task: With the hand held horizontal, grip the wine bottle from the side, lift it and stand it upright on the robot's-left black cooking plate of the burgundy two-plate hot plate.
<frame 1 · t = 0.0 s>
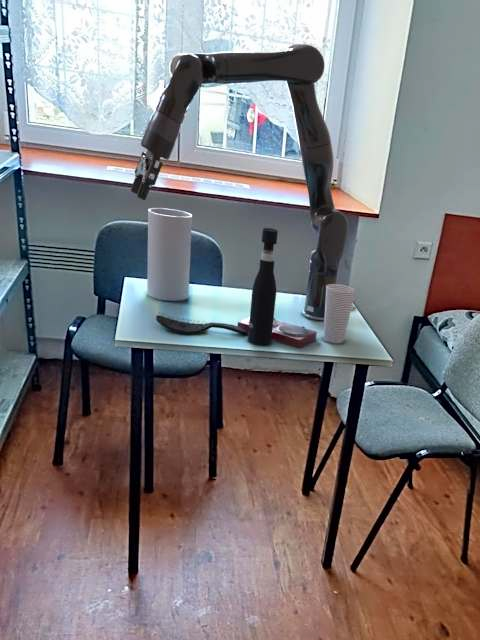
hand: (137, 195, 172), 31 cm above the table, tool tilted 20°, fingers open, 8 cm apart
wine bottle: (259, 342, 182), on the table
hairbrush: (202, 331, 182), on the table
cup: (333, 340, 194), on the table
hot plate: (276, 334, 191), on the table
cylinder vase: (168, 296, 206), on the table
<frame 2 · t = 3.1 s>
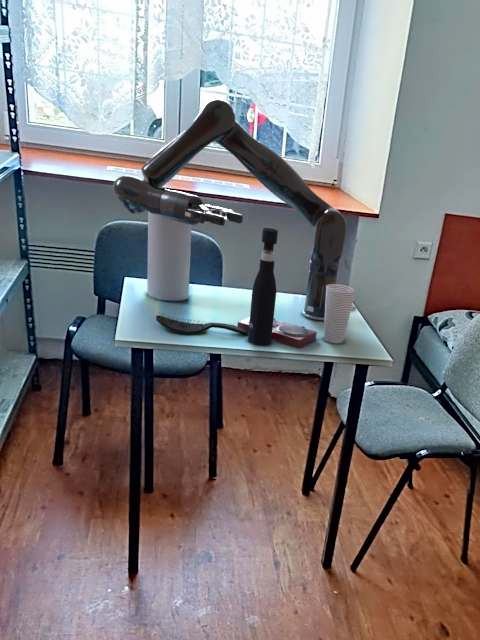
hand: (233, 220, 171), 30 cm above the table, tool horizontal, fingers open, 8 cm apart
nothing on the table moved.
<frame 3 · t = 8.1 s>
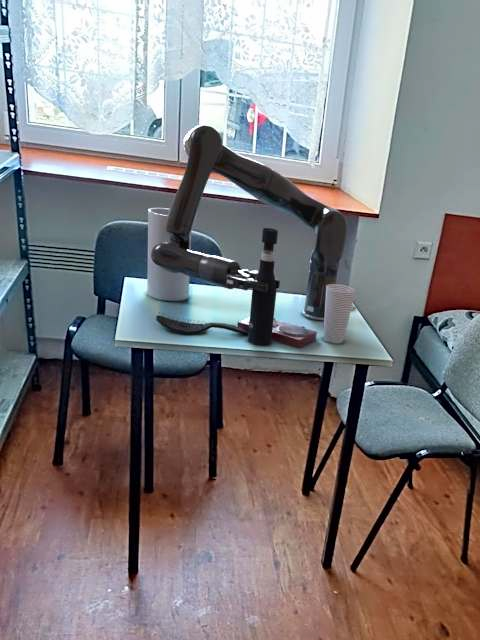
hand: (272, 286, 174), 16 cm above the table, tool horizontal, fingers closed on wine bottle, 6 cm apart
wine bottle: (259, 342, 182), on the table, touching gripper
everything else where it was.
when the fingers open (19 cm above the table, at t = 13.1 s): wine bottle stays where it is, resting on hot plate.
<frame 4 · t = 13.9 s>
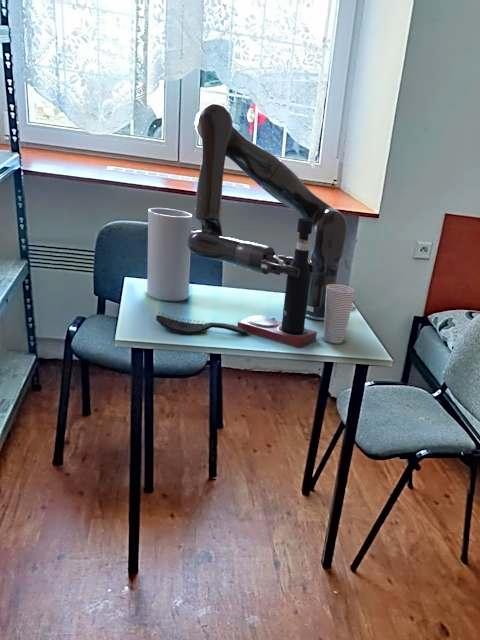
hand: (306, 270, 179), 20 cm above the table, tool horizontal, fingers open, 8 cm apart
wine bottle: (292, 330, 188), point 3 cm above the table, touching hot plate
everything else where it was.
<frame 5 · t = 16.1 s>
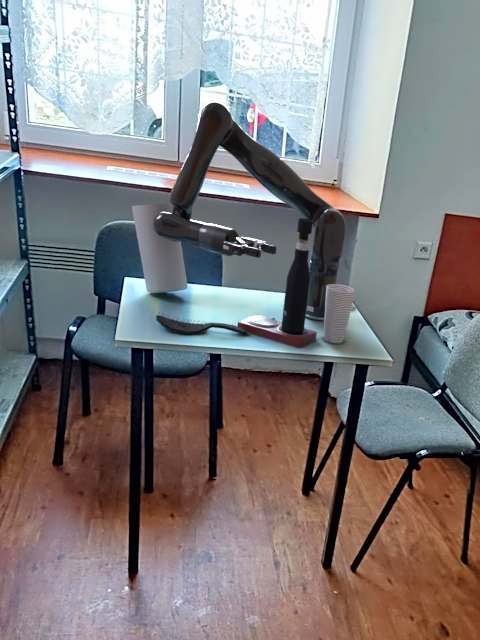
hand: (268, 252, 182), 22 cm above the table, tool horizontal, fingers open, 8 cm apart
cylinder vase: (167, 291, 206), point 1 cm above the table
everything else where it was.
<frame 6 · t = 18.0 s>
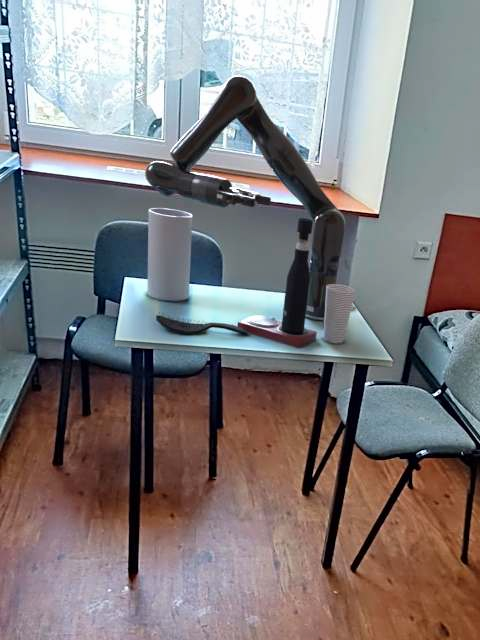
hand: (262, 202, 179), 34 cm above the table, tool horizontal, fingers open, 8 cm apart
cylinder vase: (168, 296, 206), on the table
everything else where it was.
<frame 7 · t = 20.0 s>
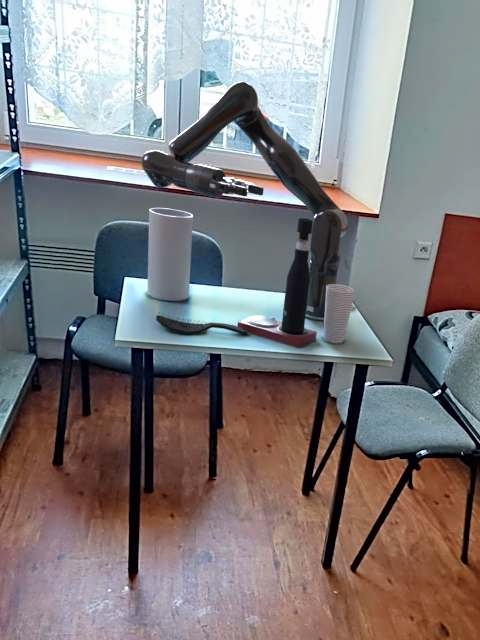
hand: (254, 191, 182), 36 cm above the table, tool horizontal, fingers open, 8 cm apart
nothing on the table moved.
at the end: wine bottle 0.2 cm from the target spot on the hot plate, point 2.6 cm above the hot plate's base; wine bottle tilted 0°; the gripper is holding nothing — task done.
